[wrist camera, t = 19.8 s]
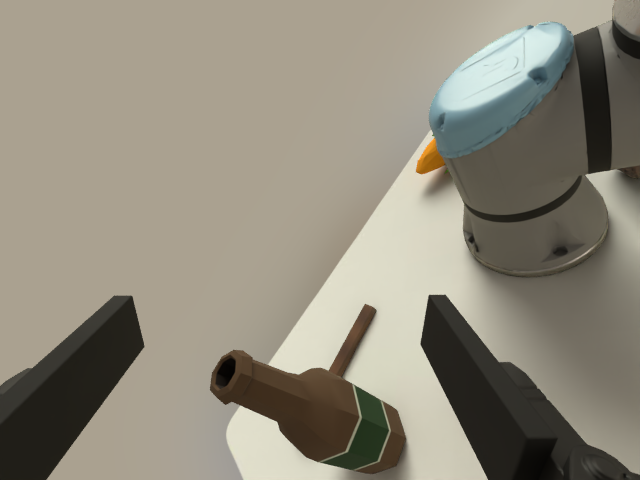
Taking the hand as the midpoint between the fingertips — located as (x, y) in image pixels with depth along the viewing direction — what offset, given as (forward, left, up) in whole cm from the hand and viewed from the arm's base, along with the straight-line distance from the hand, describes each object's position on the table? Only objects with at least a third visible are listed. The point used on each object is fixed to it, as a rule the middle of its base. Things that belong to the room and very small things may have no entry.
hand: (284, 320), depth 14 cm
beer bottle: (+5, -9, -29) cm, 31 cm away
